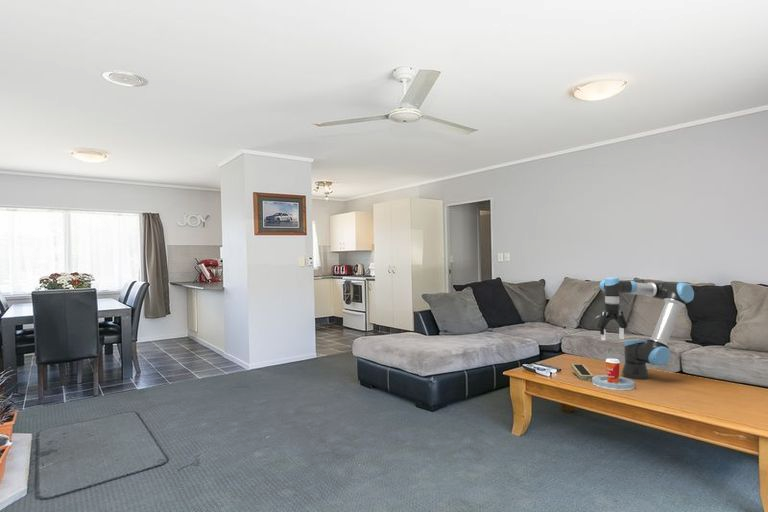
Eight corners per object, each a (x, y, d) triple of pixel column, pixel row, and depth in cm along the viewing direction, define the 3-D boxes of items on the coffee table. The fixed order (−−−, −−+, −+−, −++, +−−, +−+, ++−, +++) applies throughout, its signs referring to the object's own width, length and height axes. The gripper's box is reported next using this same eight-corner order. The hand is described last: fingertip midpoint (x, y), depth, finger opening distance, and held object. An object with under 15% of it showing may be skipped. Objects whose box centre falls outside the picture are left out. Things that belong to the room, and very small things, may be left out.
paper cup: (603, 381, 261) (603, 358, 261) (616, 381, 261) (616, 358, 261) (609, 385, 253) (609, 360, 253) (623, 385, 253) (622, 361, 253)
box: (582, 370, 286) (582, 363, 286) (596, 385, 264) (597, 378, 263) (569, 370, 287) (569, 363, 286) (582, 385, 265) (583, 378, 264)
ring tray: (612, 379, 271) (612, 374, 271) (643, 388, 250) (643, 383, 250) (584, 381, 264) (583, 376, 264) (613, 391, 243) (613, 386, 243)
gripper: (600, 304, 251) (600, 341, 250) (634, 303, 258) (634, 339, 258) (590, 303, 258) (590, 339, 257) (623, 302, 265) (624, 337, 265)
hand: (612, 339), depth 258 cm, fingers open, 13 cm apart
